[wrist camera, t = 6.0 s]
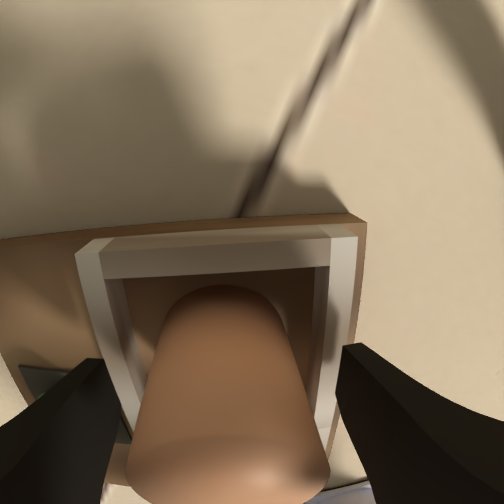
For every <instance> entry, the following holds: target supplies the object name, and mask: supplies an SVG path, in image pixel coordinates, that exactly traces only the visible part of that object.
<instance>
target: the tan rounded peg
mask: <svg viewBox="0 0 504 504" xmlns="http://www.w3.org/2000/svg"><path fill="white" fill-rule="evenodd" d="M125 474H126V478H127V481H128V483H129V484H130V486H131V487H132V489H133V490H134V491H135V492H136V493H137V494H138V495H140V496H141V497H142V498H144V499H145V500H147V501H148V502H150V503H152V504H303V503H305V502H306V501H308V500H310V499H311V498H313V497H314V496H315V495H316V494H317V493H319V492H320V491H321V490H322V489H323V487H324V486H325V485H326V483H327V482H328V479H329V477H330V466H329V463H328V459H327V456H326V453H325V450H324V447H323V444H322V441H321V438H320V435H319V432H318V428H317V425H316V422H315V419H314V416H313V413H312V410H311V407H310V404H309V401H308V398H307V395H306V392H305V389H304V386H303V382H302V379H301V376H300V373H299V370H298V367H297V364H296V361H295V358H294V355H293V352H292V349H291V346H290V343H289V340H288V337H287V334H286V331H285V328H284V325H283V322H282V319H281V317H280V315H279V313H278V312H277V310H276V309H275V307H274V306H273V305H272V304H271V303H270V302H269V301H268V300H267V299H265V298H264V297H263V296H261V295H260V294H258V293H256V292H254V291H252V290H250V289H247V288H243V287H240V286H235V285H224V284H223V285H211V286H205V287H202V288H198V289H196V290H194V291H191V292H189V293H188V294H186V295H184V296H183V297H182V298H180V299H179V300H178V301H177V302H176V303H175V304H174V305H173V306H172V307H171V309H170V310H169V311H168V313H167V315H166V317H165V320H164V323H163V327H162V330H161V333H160V337H159V340H158V343H157V347H156V350H155V354H154V357H153V361H152V364H151V368H150V371H149V375H148V379H147V382H146V386H145V390H144V394H143V398H142V401H141V405H140V409H139V413H138V417H137V421H136V425H135V429H134V434H133V438H132V442H131V447H130V451H129V455H128V460H127V465H126V469H125Z"/></svg>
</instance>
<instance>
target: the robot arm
mask: <svg viewBox="0 0 504 504" xmlns="http://www.w3.org/2000/svg"><path fill="white" fill-rule="evenodd" d="M335 396H336V400H337V403H338V407H339V410H340V414H341V417H342V420H343V422H344V425H345V427H346V429H347V432H348V434H349V436H350V438H351V441H352V443H353V445H354V447H355V450H356V452H357V454H358V456H359V458H360V461H361V463H362V465H363V467H364V470H365V472H366V474H367V477H368V480H369V481H365V482H362V483H358V484H354V485H350V486H346V487H342V488H338V489H333V490H329V491H324V492H319V493H317V494H316V495H315V496H314V497H313V498H312V501H308V502H305V503H303V504H504V421H500V420H497V419H494V418H491V417H488V416H485V415H482V414H480V413H477V412H474V411H472V410H470V409H467V408H465V407H463V406H461V405H459V404H457V403H454V402H452V401H450V400H448V399H446V398H445V397H443V396H441V395H439V394H437V393H436V392H434V391H432V390H431V389H429V388H427V387H425V386H424V385H422V384H421V383H419V382H417V381H416V380H414V379H413V378H411V377H410V376H408V375H407V374H405V373H404V372H402V371H401V370H399V369H398V368H397V367H395V366H394V365H392V364H391V363H390V362H388V361H387V360H385V359H384V358H383V357H381V356H380V355H378V354H377V353H376V352H374V351H373V350H371V349H370V348H368V347H367V346H366V345H364V344H363V343H355V344H349V345H343V346H342V353H341V359H340V366H339V372H338V378H337V383H336V389H335ZM121 407H122V404H121V402H120V399H119V397H118V395H117V392H116V390H115V387H114V384H113V382H112V379H111V377H110V374H109V371H108V369H107V366H106V363H105V360H104V359H101V358H86V359H85V360H83V361H82V362H81V363H80V364H78V365H77V366H76V367H75V368H74V369H72V370H71V371H70V372H69V373H68V374H67V375H65V376H64V377H63V378H62V379H61V380H60V381H58V382H57V383H56V384H55V385H54V386H53V387H51V388H50V389H49V390H48V391H47V392H46V393H45V394H43V395H42V396H41V397H40V398H38V399H37V400H36V401H35V402H33V403H32V404H31V405H30V406H28V407H27V408H26V409H25V410H23V411H22V412H21V413H20V414H18V415H17V416H15V417H14V418H13V419H11V420H10V421H8V422H7V423H5V424H4V425H2V426H1V427H0V504H100V498H101V493H102V488H103V483H104V480H105V476H106V472H107V468H108V465H109V461H110V458H111V454H112V451H113V447H114V443H115V440H116V436H117V433H118V427H119V421H120V414H121Z"/></svg>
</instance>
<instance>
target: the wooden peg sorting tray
mask: <svg viewBox="0 0 504 504" xmlns="http://www.w3.org/2000/svg"><path fill="white" fill-rule="evenodd" d="M366 234H367V222H365V221H363V220H362V219H360V218H358V217H356V216H355V215H353V214H351V213H340V214H310V215H286V216H264V217H245V218H228V219H211V220H196V221H182V222H168V223H155V224H143V225H131V226H120V227H109V228H98V229H88V230H78V231H69V232H59V233H50V234H41V235H33V236H24V237H16V238H8V239H1V240H0V353H1V355H2V357H3V359H4V361H5V363H6V365H7V367H8V369H9V371H10V373H11V375H12V377H13V379H14V381H15V383H16V385H17V387H18V388H19V390H20V392H21V394H22V396H23V397H24V399H25V401H26V403H27V404H28V406H30V405H31V404H32V403H33V402H35V401H36V400H37V399H38V397H39V396H40V395H41V394H42V393H45V392H47V391H48V390H49V389H50V388H51V387H53V386H54V385H55V384H56V383H57V382H58V381H60V380H61V379H62V378H63V377H64V376H65V375H67V374H68V373H69V372H70V371H71V370H72V369H74V368H75V367H76V366H77V365H78V364H80V363H81V362H82V361H83V360H85V359H86V358H101V359H104V360H105V363H106V366H107V369H108V371H109V374H110V377H111V379H112V382H113V384H114V387H115V390H116V392H117V395H118V397H119V399H120V402H121V404H122V407H121V414H120V421H119V427H118V433H117V436H116V440H115V443H114V447H113V451H112V454H111V458H110V461H109V465H108V468H107V472H106V476H105V480H104V483H110V484H116V485H123V486H130V484H129V483H128V481H127V478H126V474H125V469H126V465H127V460H128V455H129V451H130V447H131V442H132V438H133V434H134V429H135V425H136V421H137V417H138V413H139V409H140V405H141V401H142V398H143V394H144V390H145V386H146V382H147V379H148V375H149V371H150V368H151V364H152V361H153V357H154V354H155V350H156V347H157V343H158V340H159V337H160V333H161V330H162V327H163V323H164V320H165V317H166V315H167V313H168V311H169V310H170V309H171V307H172V306H173V305H174V304H175V303H176V302H177V301H178V300H179V299H180V298H182V297H183V296H184V295H186V294H188V293H189V292H191V291H194V290H196V289H198V288H202V287H205V286H211V285H223V284H224V285H235V286H240V287H243V288H247V289H250V290H252V291H254V292H256V293H258V294H260V295H261V296H263V297H264V298H265V299H267V300H268V301H269V302H270V303H271V304H272V305H273V306H274V307H275V309H276V310H277V312H278V313H279V315H280V317H281V319H282V322H283V325H284V328H285V331H286V334H287V337H288V340H289V343H290V346H291V349H292V352H293V355H294V358H295V361H296V364H297V367H298V370H299V373H300V376H301V379H302V382H303V386H304V389H305V392H306V395H307V398H308V401H309V404H310V407H311V410H312V413H313V416H314V419H315V422H316V425H317V428H318V432H319V435H320V438H321V441H322V444H323V447H324V450H325V453H326V456H327V459H328V458H329V455H330V451H331V448H332V444H333V440H334V436H335V432H336V428H337V424H338V420H339V416H340V410H339V407H338V403H337V400H336V396H335V389H336V383H337V378H338V372H339V366H340V359H341V353H342V346H343V345H349V344H354V339H355V333H356V326H357V319H358V312H359V305H360V297H361V288H362V279H363V270H364V259H365V247H366ZM308 501H312V498H311V499H310V500H308ZM308 501H306V502H308Z"/></svg>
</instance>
